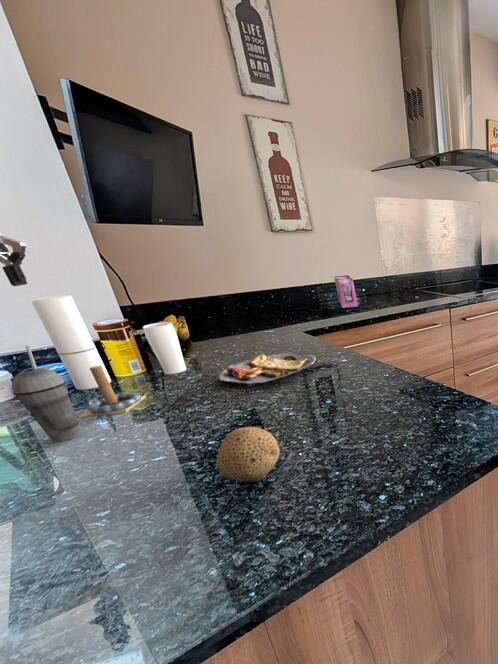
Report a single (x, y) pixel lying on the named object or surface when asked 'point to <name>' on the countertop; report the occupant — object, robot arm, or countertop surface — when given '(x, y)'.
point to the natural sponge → (247, 454)
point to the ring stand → (106, 394)
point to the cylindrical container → (70, 338)
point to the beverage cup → (47, 401)
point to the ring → (134, 399)
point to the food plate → (266, 368)
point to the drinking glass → (165, 346)
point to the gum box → (345, 291)
